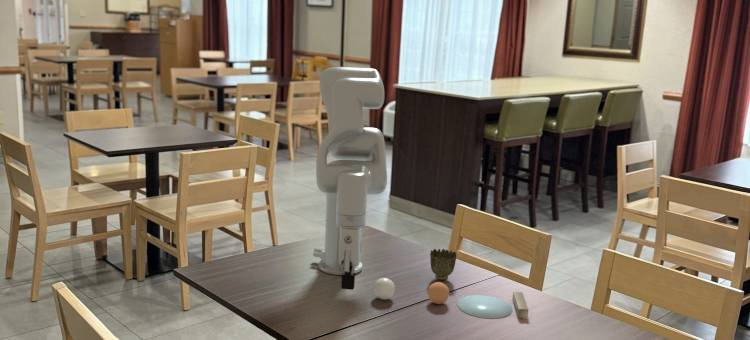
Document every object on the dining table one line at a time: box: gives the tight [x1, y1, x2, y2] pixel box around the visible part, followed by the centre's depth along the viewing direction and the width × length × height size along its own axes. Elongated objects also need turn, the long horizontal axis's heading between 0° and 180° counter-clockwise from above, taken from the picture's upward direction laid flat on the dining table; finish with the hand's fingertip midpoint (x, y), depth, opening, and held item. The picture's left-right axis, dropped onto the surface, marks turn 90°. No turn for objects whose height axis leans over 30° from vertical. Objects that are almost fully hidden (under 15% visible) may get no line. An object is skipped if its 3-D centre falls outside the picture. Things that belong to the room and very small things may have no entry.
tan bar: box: [512, 291, 529, 320], centre depth 176 cm, size 2×11×2 cm, turn 176°
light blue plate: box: [456, 294, 513, 320], centre depth 177 cm, size 14×14×1 cm
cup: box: [429, 248, 457, 282], centre depth 193 cm, size 8×7×8 cm
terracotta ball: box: [427, 281, 450, 305], centre depth 177 cm, size 6×6×6 cm
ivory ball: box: [373, 277, 396, 300], centre depth 178 cm, size 6×6×6 cm
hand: (347, 288), depth 178 cm, fingers closed
